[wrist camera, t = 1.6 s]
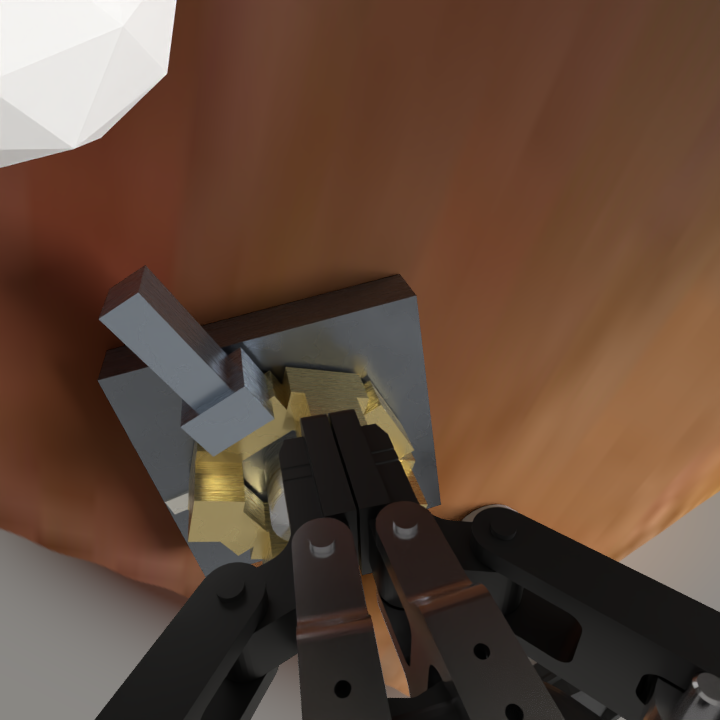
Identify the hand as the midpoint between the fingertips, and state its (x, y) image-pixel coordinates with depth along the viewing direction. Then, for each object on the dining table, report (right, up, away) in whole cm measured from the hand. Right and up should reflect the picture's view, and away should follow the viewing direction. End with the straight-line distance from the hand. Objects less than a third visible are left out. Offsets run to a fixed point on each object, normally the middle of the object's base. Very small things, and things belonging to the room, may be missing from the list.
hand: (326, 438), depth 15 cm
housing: (-3, -2, +20) cm, 21 cm away
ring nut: (-5, -1, +15) cm, 16 cm away
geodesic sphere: (-13, +18, +6) cm, 23 cm away
